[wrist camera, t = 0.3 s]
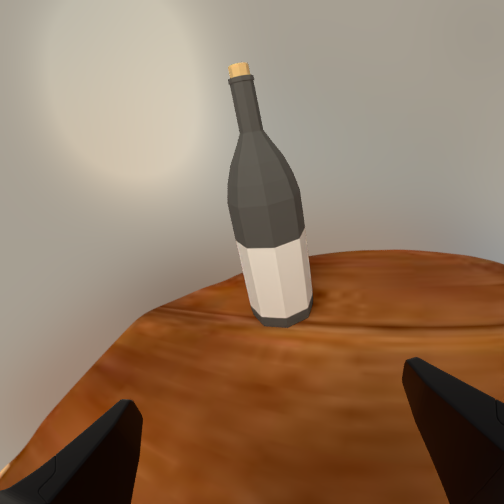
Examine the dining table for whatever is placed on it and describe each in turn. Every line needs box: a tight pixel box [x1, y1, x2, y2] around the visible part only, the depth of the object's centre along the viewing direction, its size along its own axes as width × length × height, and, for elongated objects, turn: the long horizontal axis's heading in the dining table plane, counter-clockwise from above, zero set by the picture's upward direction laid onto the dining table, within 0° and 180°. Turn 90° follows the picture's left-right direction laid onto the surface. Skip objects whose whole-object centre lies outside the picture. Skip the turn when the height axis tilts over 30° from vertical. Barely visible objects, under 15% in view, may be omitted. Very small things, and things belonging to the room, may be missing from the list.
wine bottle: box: [228, 63, 313, 328], centre depth 33 cm, size 8×8×30 cm
